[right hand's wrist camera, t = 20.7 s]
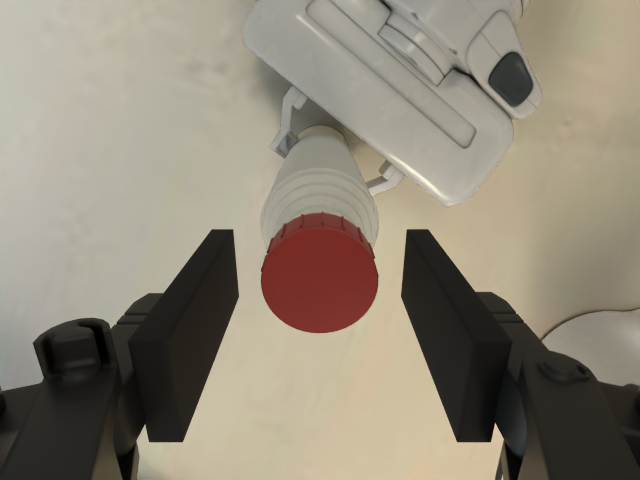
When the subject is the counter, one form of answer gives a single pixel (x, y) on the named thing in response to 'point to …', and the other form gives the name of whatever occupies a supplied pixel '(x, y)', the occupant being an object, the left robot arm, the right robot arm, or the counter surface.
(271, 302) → the cap
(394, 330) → the counter surface
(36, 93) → the counter surface
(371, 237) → the bottle
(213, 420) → the counter surface
